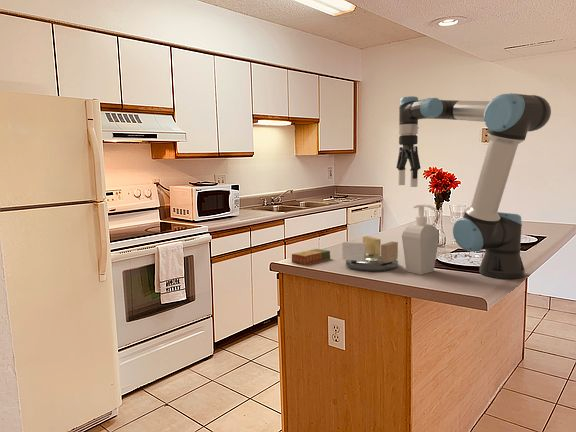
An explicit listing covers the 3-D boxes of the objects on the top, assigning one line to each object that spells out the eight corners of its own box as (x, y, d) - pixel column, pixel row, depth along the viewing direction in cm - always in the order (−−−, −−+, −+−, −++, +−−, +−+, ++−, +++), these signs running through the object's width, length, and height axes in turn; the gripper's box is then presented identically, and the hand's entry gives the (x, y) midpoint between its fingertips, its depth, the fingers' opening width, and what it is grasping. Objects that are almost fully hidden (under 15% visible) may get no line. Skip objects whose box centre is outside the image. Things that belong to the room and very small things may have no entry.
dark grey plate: (405, 270, 174) (405, 263, 173) (353, 272, 171) (353, 265, 171) (387, 258, 194) (387, 252, 194) (340, 260, 192) (340, 254, 192)
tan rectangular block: (391, 260, 182) (391, 241, 181) (397, 260, 180) (397, 242, 179) (380, 264, 175) (381, 244, 174) (386, 265, 173) (387, 245, 172)
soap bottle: (423, 276, 164) (425, 206, 161) (401, 271, 172) (402, 205, 169) (442, 271, 172) (444, 204, 168) (420, 266, 179) (421, 202, 176)
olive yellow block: (380, 257, 187) (380, 239, 186) (375, 258, 186) (375, 239, 185) (367, 253, 195) (367, 236, 194) (362, 254, 194) (362, 236, 193)
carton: (291, 263, 191) (291, 253, 191) (316, 257, 202) (316, 247, 202) (305, 266, 185) (305, 255, 185) (330, 259, 196) (330, 250, 196)
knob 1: (365, 262, 179) (365, 243, 178) (364, 263, 177) (364, 244, 176) (344, 260, 183) (344, 241, 182) (342, 261, 181) (342, 242, 180)
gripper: (429, 133, 174) (428, 187, 177) (405, 136, 199) (405, 184, 201) (411, 133, 173) (410, 187, 176) (389, 136, 198) (389, 184, 201)
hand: (407, 186), depth 189 cm, fingers open, 13 cm apart
